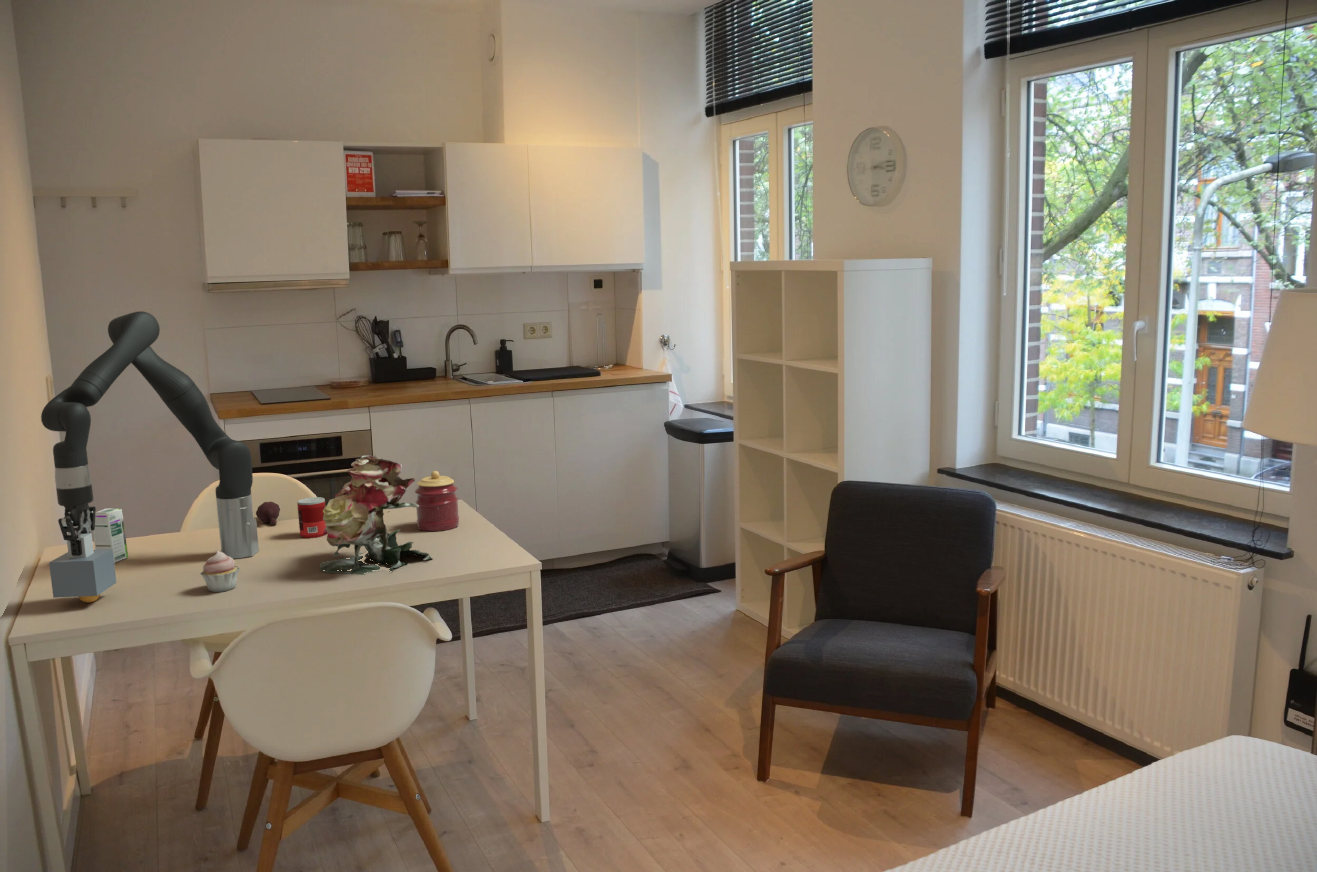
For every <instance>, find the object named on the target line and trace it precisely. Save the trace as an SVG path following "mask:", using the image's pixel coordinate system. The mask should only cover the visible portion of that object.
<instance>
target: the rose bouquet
mask: <svg viewBox="0 0 1317 872" xmlns="http://www.w3.org/2000/svg"><path fill="white" fill-rule="evenodd" d="M350 465H351V467H352V468H348V469H347V472H348V474H349V475H350V476H351V479H350V481H349V482H346V483H344V484H343V486H342V489H340V491H339V492H337V493H336V494H335V495H334V498H332V499H328V503H327V504H326V505H325V508H324V510H323V513H324V516H323V520H324V522H325V525H326V528H325V529H324V532H323V535H324V536H326V542H327V543H328V544H329V545H330V546H331V547H337V550H335V552H334V553H333V557H332V558H336V557H338V556H340V555H341V553H339V551H340V550H341V549H343V548H347V549H350V547H351V545H353V546H354V547H353V549H354V555H352V556H347V557H341V558H338V559H331V560H328V561H321V562H320V565H319V568H320V570H319V571H320V572H323V573H326V574H327V573H328V574H356V575H360V576H362V575H364V576H366V574H368V573H377V572H376V571H375V572H373V571H372V570H379V569H380V567H379V566H377V565H375V564H378V563H387V564H388V565H387V566H389V565H393V566H390V567H391V568H390V569H389V570H390V571H392V572H391V573H393V570H394V569H396V568H399V567H400V566H401V567H404V566H403V565H405V566H407V565H408V563H407V562H401V561H400V558H401V557H403V556H410V555H415V556H416V557H418V558H420V557H419V556H423V557H424V558H423V561H425V560H431V559H432V558H433V557H432V556H431V555H430V554H429V553H427V552H422V551H420V550H418V549H412V548H413V544H414V543H415V541H408V542H406V543H404V544H398V542H397V533H398V532H400V531H401V529H396V530H394V531H392V532H391V533H389V532H388V531H387V525H386V524H385V522H384V521H385V520H384V515H385V513H384V510H397V509H403V508H410V507H411V508H416V507H419V505H416V503H411V502H399V501H400V500H401V499H402V498H403V497H404V495H405V494H406V491H407V488H409V487H412V484H413V483H414V482H416V479H415V477H412V478H405V479H403V478H401V477H400V476H399V475H400V474H401V473H402V468H403V467H402V466H403V464H400V463H399V462H395V461H392V460H388V459H383V458H382V457H379V456H378V457H377V456H376V455H370V454H369V455H362V456H361V457H360V458H356V459H355V461H353V462H352V463H351V464H350ZM390 512H391V511H388V513H390ZM325 534H326V535H325ZM362 547H364V548H365V550H366V551H368V553H367V554H369V555H368V556H369V557H368V559H371V560H373V561H372V562H373V564H374V565H369V564H370V563H369V564H365V563H363V562H362V561H358V560H360V559H362V558H363V556H359V555H361V554H363V553H364V552H360V551H361V548H362ZM359 552H360V553H359ZM348 557H350V559H346V558H348ZM431 557H432V558H431ZM432 560H433V559H432ZM401 567H400V568H401ZM350 569H352V570H351V571H347V570H350ZM323 570H325V571H323ZM337 570H339V571H337ZM341 570H342V571H341ZM390 571H389V572H390ZM367 572H368V573H367ZM364 573H365V574H364Z"/></svg>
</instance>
